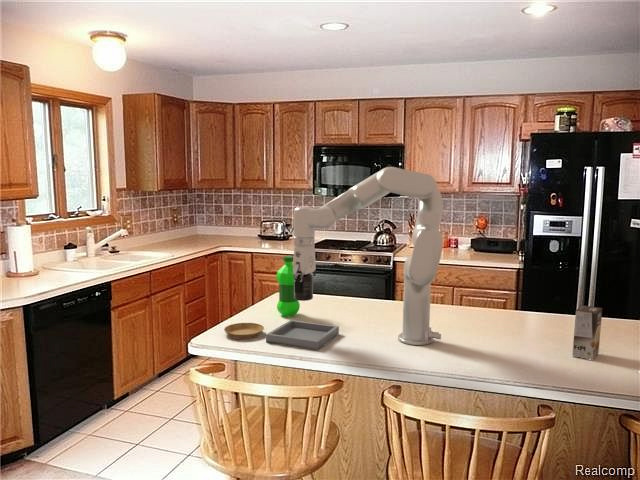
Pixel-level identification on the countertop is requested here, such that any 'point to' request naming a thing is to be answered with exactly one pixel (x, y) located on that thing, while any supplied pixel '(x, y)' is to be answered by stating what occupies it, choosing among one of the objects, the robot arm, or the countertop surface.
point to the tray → (302, 334)
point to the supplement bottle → (305, 288)
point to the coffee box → (587, 332)
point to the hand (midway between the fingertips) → (303, 290)
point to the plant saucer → (244, 330)
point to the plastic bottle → (287, 289)
